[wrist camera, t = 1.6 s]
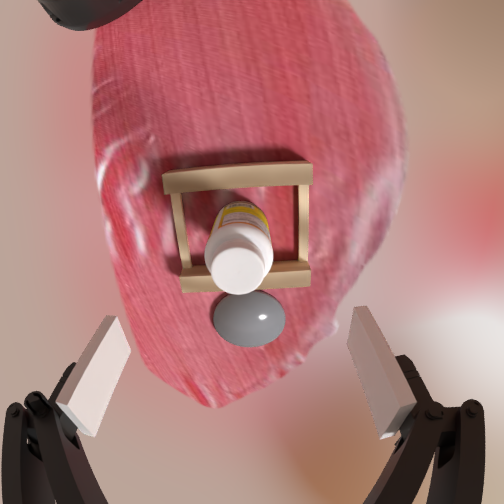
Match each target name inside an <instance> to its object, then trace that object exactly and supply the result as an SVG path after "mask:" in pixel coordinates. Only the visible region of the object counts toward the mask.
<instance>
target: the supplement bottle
mask: <svg viewBox="0 0 504 504" xmlns="http://www.w3.org/2000/svg"><path fill="white" fill-rule="evenodd" d="M204 257H205V263H206V266H207V268H208V270H209V272H210V273H211V276H212V279H213V281H214V283H215V284H216V285H217V286H218V287H219V288H220V289H222V290H223V291H225V292H227V293H230V294H237V295H240V294H246V293H249V292H251V291H253V290H255V289H256V288H257V287H258V286H259V285H260V284H261V282H262V281H263V278H264V277H265V276H266V275H267V273H268V272H269V270H270V268H271V266H272V262H273V249H272V244H271V238H270V233H269V227H268V222H267V219H266V216H265V214H264V213H263V211H262V210H261V209H260V208H259V207H257V206H256V205H254V204H252V203H250V202H246V201H236V202H232V203H230V204H228V205H226V206H225V207H223V208H222V209H221V210H220V212H219V213H218V215H217V217H216V219H215V222H214V225H213V227H212V230H211V233H210V236H209V238H208V241H207V244H206V247H205V255H204Z"/></svg>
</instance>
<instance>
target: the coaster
mask: <svg viewBox="0 0 504 504" xmlns="http://www.w3.org/2000/svg"><path fill="white" fill-rule="evenodd" d="M213 321H214V326H215V329H216V331H217V332H218V334H219V335H220V336H221V337H222V338H223V339H225V340H226V341H228V342H230V343H232V344H234V345H237V346H242V347H257V346H262V345H265V344H267V343H269V342H271V341H273V340H274V339H276V338H277V337H278V336H279V335H280V333H281V332H282V330H283V328H284V325H285V313H284V309H283V307H282V305H281V304H280V302H279V301H278V300H277V299H276V298H275V297H273V296H272V295H270V294H268V293H266V292H263V291H259V290H253V291H251V292H249V293H246V294H240V295H237V294H228V295H227V296H225V297H224V298H223V299H221V301H220V302H219V303H218V304H217V306H216V308H215V311H214V317H213Z"/></svg>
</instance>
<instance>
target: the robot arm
mask: <svg viewBox="0 0 504 504" xmlns="http://www.w3.org/2000/svg"><path fill="white" fill-rule="evenodd" d="M38 1H39V3H40V4H41V5H42V7H43V8H44V9H45V11H46V12H47V13H48V14H49V15H50V17H51V18H52V20H53V21H54V22H55V23H57V24H58V25H60V26H63V27H65V28H68V29H71V30H75V31H84V30H90V29H94V28H97V27H100V26H103V25H105V24H107V23H110V22H112V21H113V20H115V19H117V18H119V17H120V16H122V15H124V14H125V13H127V12H128V11H129V10H131V9H132V8H133V7H135V6H136V5H137V4H138V3H140V2H141V1H142V0H38ZM347 346H348V349H349V351H350V354H351V356H352V359H353V362H354V365H355V368H356V370H357V373H358V376H359V379H360V381H361V384H362V387H363V390H364V393H365V395H366V398H367V401H368V404H369V407H370V410H371V413H372V416H373V419H374V422H375V426H376V429H377V432H378V435H379V438H380V439H383V438H386V437H390V436H393V435H395V434H396V433H397V431H398V430H400V433H401V437H400V438H399V440H398V441H397V442H396V443H395V445H396V447H395V449H394V451H393V453H392V455H391V457H390V459H389V461H388V462H387V464H386V466H385V468H384V470H383V472H382V473H381V475H380V477H379V479H378V480H377V482H376V484H375V485H374V487H373V489H372V490H371V492H370V493H369V495H368V497H367V498H366V500H365V501H364V503H363V504H412V502H413V500H414V498H415V497H416V495H417V493H418V490H419V488H420V486H421V484H422V482H423V479H424V477H425V475H426V473H427V470H428V468H429V465H430V463H431V460H432V458H433V455H434V452H435V457H434V464H433V471H432V477H431V484H430V488H429V493H428V498H427V503H426V504H481V502H482V494H483V485H484V472H485V421H484V410H483V406H482V405H481V404H480V403H479V402H478V401H477V400H473V399H470V400H467V401H465V402H464V403H463V404H462V406H461V407H448V408H447V407H443V406H442V405H441V404H440V403H438V402H434V401H433V400H432V398H431V396H430V394H429V392H428V390H427V389H426V386H425V384H424V382H423V380H422V379H421V377H420V375H419V373H418V371H416V368H415V366H414V364H413V362H412V361H411V360H410V359H409V358H408V357H407V356H405V355H400V356H396V357H395V356H394V354H393V353H392V351H391V349H390V347H389V345H388V343H387V341H386V339H385V337H384V336H383V334H382V332H381V330H380V328H379V326H378V325H377V323H376V321H375V319H374V318H373V316H372V314H371V312H370V310H369V309H368V307H367V306H360V307H354V309H353V315H352V321H351V326H350V331H349V337H348V341H347ZM130 352H131V349H130V347H129V345H128V342H127V340H126V337H125V335H124V332H123V330H122V328H121V325H120V322H119V320H118V317H117V316H106V317H105V318H104V320H103V321H102V323H101V325H100V326H99V328H98V329H97V331H96V332H95V334H94V335H93V337H92V339H91V340H90V342H89V343H88V345H87V347H86V348H85V350H84V352H83V353H82V355H81V357H80V358H79V360H78V362H77V363H75V362H73V363H72V364H71V365H70V366H68V367H67V369H66V370H65V372H64V373H63V377H61V379H60V380H59V382H58V384H57V386H56V387H55V389H54V391H53V393H52V395H51V396H50V398H49V400H47V399H46V397H45V396H44V395H43V394H42V393H41V392H39V391H34V392H32V393H30V394H28V396H27V397H26V398H25V401H24V405H25V407H26V408H27V409H25V408H24V407H23V406H22V405H21V404H20V403H17V402H15V403H13V404H11V405H10V406H9V407H8V408H7V411H6V417H5V425H4V434H3V445H2V499H3V504H55V500H56V503H57V504H108V502H107V500H106V499H105V497H104V495H103V493H102V491H101V489H100V487H99V485H98V482H97V480H96V478H95V476H94V474H93V471H92V469H91V467H90V464H89V462H88V460H87V457H86V455H85V452H84V450H83V447H82V444H81V441H80V439H79V436H78V435H77V433H76V431H77V428H78V429H79V430H80V431H81V432H82V433H83V434H85V435H89V436H92V437H95V436H96V434H97V431H98V429H99V426H100V423H101V421H102V418H103V416H104V413H105V410H106V407H107V406H108V403H109V400H110V398H111V396H112V393H113V391H114V389H115V386H116V384H117V382H118V379H119V377H120V375H121V372H122V370H123V368H124V366H125V363H126V361H127V359H128V357H129V354H130ZM27 439H28V444H27Z"/></svg>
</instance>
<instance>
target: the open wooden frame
mask: <svg viewBox="0 0 504 504" xmlns="http://www.w3.org/2000/svg"><path fill="white" fill-rule="evenodd" d="M162 181H163V188H164V195H166V194H170V195H171V202H172V209H173V215H174V222H175V228H176V234H177V240H178V245H179V251H180V256H181V262H182V267H183V269H182V271H181V274H180V276H179V279H180V284H181V288H182V293H186V292H216V291H223V290H222V289H220V288H219V287H218V286H217V285H216V284H215V283H214V281H213V279H212V276H211V273H210V272H209V270H208V268H207V266H206V265H196V266H192V261H191V255H190V249H189V243H188V237H187V231H186V224H185V217H184V210H183V203H182V196H181V193H184V192H195V191H206V190H217V189H231V188H245V187H263V186H285V185H298V260H289V261H273V262H272V266H271V268H270V270H269V272H268V273H267V275H266V276H265V277H264V278H263V281H262V282H261V284H260V285H259V286H258V287H257V288H256V289H255V290H260V289H277V288H293V287H307V286H310V281H311V269H310V266H309V264H308V235H309V185H313V165H312V163H311V162H309V161H273V162H253V163H237V164H224V165H213V166H203V167H193V168H184V169H176V170H169V171H167V172H165V173H163V174H162Z"/></svg>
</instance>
